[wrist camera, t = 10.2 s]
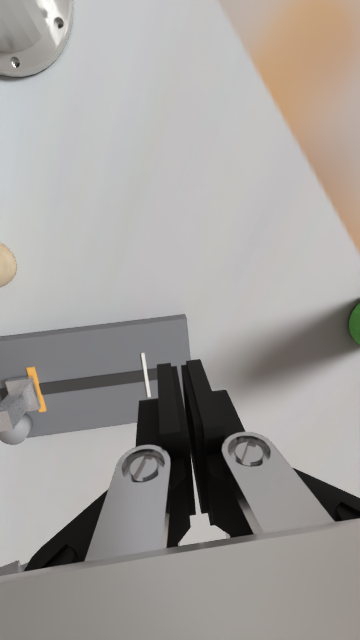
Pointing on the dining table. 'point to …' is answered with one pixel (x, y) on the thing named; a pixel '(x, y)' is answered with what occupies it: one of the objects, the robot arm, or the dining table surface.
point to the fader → (18, 401)
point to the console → (91, 372)
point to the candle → (6, 265)
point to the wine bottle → (355, 324)
